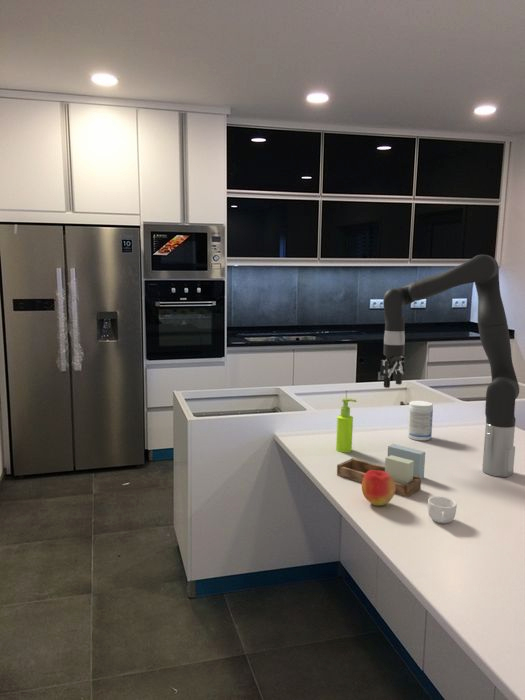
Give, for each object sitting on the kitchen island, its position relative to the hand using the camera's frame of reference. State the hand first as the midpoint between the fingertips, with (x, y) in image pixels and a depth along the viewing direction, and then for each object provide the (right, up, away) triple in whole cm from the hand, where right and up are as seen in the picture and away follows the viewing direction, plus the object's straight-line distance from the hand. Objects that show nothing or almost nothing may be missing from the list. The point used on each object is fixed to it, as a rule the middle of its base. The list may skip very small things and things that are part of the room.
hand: (392, 385), depth 212 cm
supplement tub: (+16, -23, +23) cm, 36 cm away
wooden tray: (-11, -30, -27) cm, 41 cm away
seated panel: (-6, -30, -32) cm, 44 cm away
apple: (-14, -33, -44) cm, 56 cm away
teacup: (+1, -35, -55) cm, 65 cm away
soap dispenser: (-17, -25, +5) cm, 31 cm away
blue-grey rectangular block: (0, -29, -19) cm, 35 cm away
